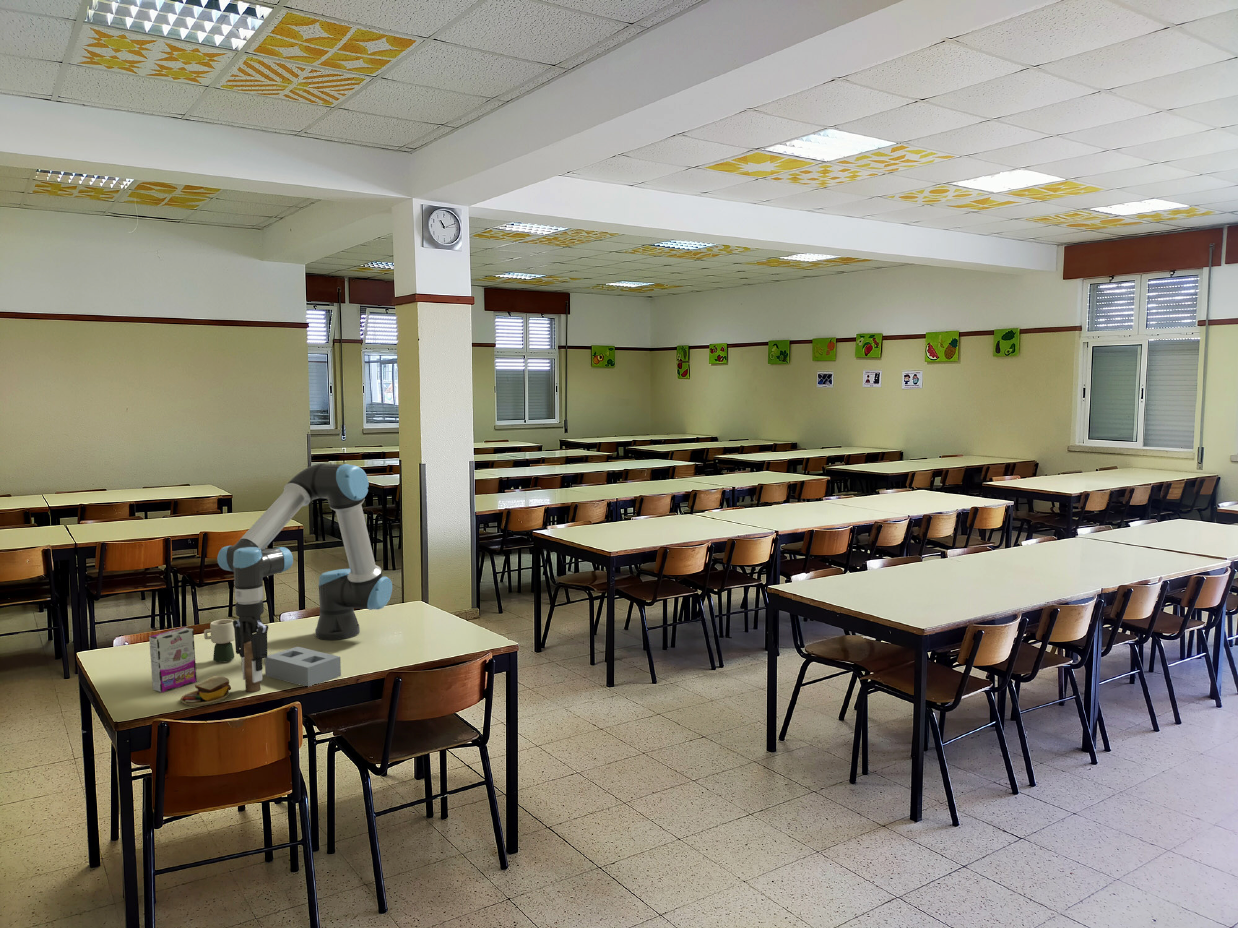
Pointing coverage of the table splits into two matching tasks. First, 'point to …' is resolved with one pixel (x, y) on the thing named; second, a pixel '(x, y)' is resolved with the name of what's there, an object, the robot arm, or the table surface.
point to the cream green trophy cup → (222, 639)
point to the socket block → (302, 666)
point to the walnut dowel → (249, 669)
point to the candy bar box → (172, 659)
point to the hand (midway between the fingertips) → (252, 679)
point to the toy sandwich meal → (208, 692)
